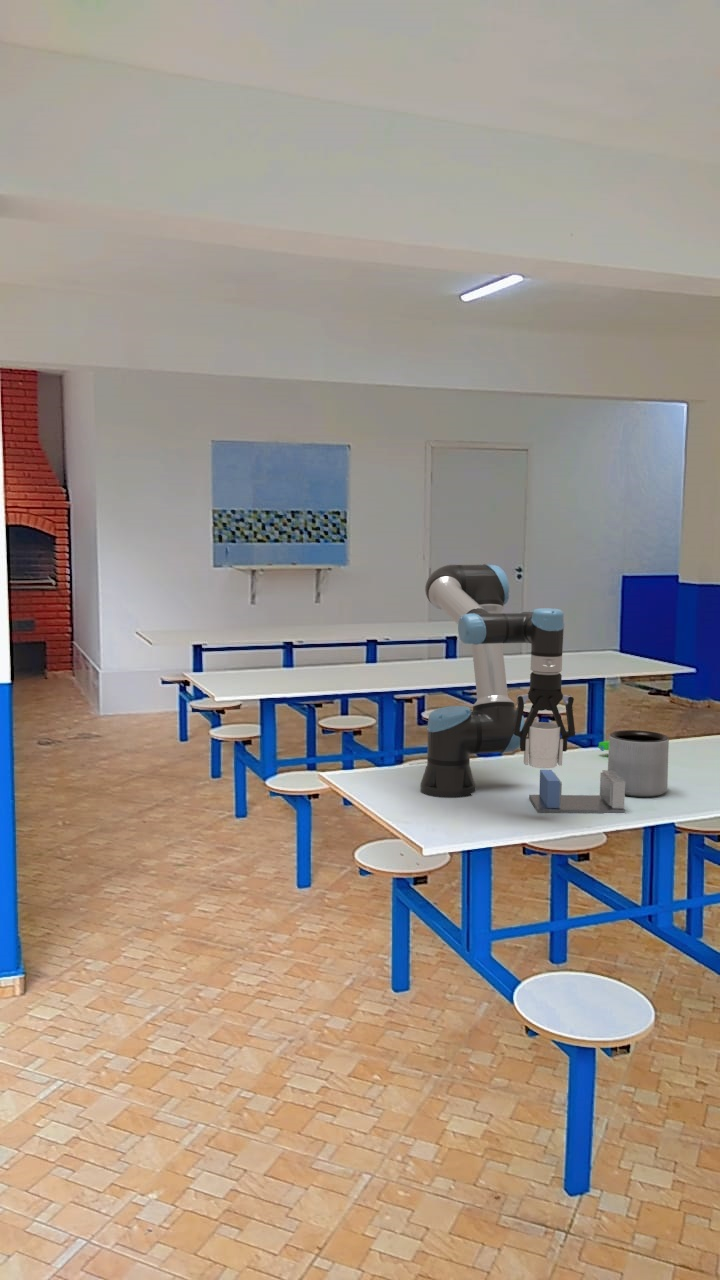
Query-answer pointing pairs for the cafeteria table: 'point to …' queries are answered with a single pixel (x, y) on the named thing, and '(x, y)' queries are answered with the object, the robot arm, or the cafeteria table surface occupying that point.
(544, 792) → the sliding jaw
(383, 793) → the cafeteria table surface
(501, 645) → the robot arm
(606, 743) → the toy car
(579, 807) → the vise bed
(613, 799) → the fixed jaw
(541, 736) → the white cup
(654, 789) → the planter
